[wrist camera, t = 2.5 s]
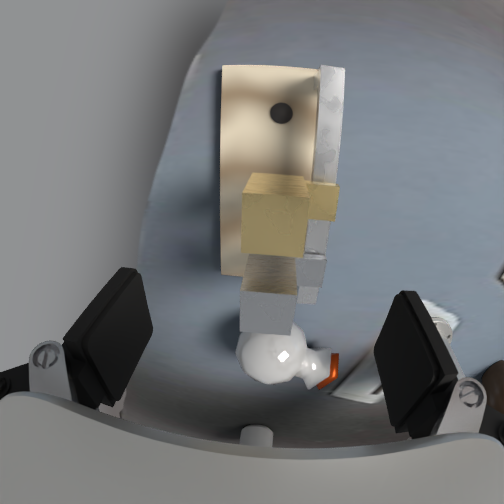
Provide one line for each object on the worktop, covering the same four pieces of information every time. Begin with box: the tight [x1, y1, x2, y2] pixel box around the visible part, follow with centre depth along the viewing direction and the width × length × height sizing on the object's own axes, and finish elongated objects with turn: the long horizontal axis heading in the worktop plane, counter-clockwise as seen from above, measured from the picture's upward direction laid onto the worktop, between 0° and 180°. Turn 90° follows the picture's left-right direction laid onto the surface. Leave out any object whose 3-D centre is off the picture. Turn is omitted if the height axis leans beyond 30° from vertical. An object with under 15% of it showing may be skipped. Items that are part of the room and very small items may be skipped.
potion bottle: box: [235, 322, 339, 390], centre depth 36 cm, size 9×10×15 cm
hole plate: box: [220, 65, 318, 277], centre depth 29 cm, size 24×12×2 cm, turn 178°
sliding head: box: [241, 173, 340, 258], centre depth 22 cm, size 4×7×12 cm, turn 88°
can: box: [239, 425, 273, 447], centre depth 51 cm, size 8×8×12 cm
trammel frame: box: [240, 65, 345, 336], centre depth 22 cm, size 23×7×12 cm, turn 178°
